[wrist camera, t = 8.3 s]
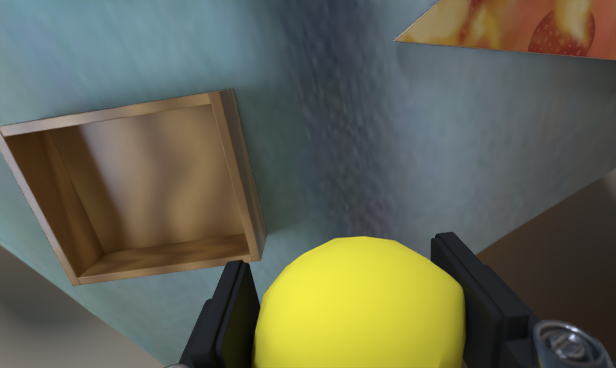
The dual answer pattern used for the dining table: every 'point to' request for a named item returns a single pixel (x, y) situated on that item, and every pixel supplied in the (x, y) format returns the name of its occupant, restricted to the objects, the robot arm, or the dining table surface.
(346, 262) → the lemon
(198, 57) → the dining table surface
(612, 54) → the pizza slice
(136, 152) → the open wooden box
